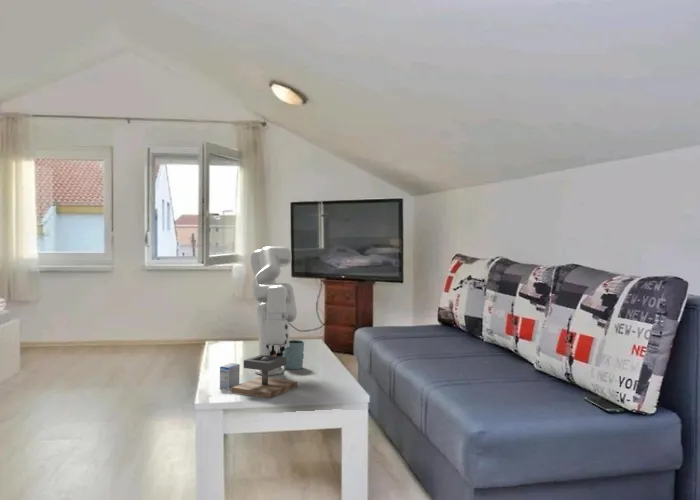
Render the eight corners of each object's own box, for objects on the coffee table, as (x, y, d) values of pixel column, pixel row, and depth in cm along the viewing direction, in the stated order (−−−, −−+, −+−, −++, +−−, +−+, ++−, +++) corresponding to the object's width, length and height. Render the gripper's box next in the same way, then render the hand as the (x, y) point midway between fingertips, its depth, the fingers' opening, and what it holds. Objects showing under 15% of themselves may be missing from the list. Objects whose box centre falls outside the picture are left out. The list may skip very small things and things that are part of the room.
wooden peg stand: (260, 381, 246) (261, 350, 246) (297, 386, 238) (297, 354, 238) (230, 392, 228) (230, 359, 228) (269, 398, 220) (269, 364, 220)
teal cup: (300, 370, 266) (300, 343, 266) (278, 368, 268) (279, 342, 268) (306, 365, 276) (306, 340, 276) (285, 364, 278) (286, 339, 278)
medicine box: (230, 383, 242) (230, 362, 241) (239, 384, 240) (239, 363, 240) (219, 388, 234) (219, 366, 234) (229, 389, 233) (229, 367, 232)
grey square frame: (266, 360, 244) (266, 352, 244) (291, 362, 238) (291, 355, 238) (243, 368, 230) (243, 360, 230) (269, 371, 225) (269, 363, 224)
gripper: (297, 316, 239) (297, 362, 239) (265, 314, 246) (265, 358, 246) (287, 318, 232) (287, 365, 232) (254, 316, 239) (254, 361, 240)
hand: (276, 361), depth 239 cm, fingers closed on grey square frame, 2 cm apart
